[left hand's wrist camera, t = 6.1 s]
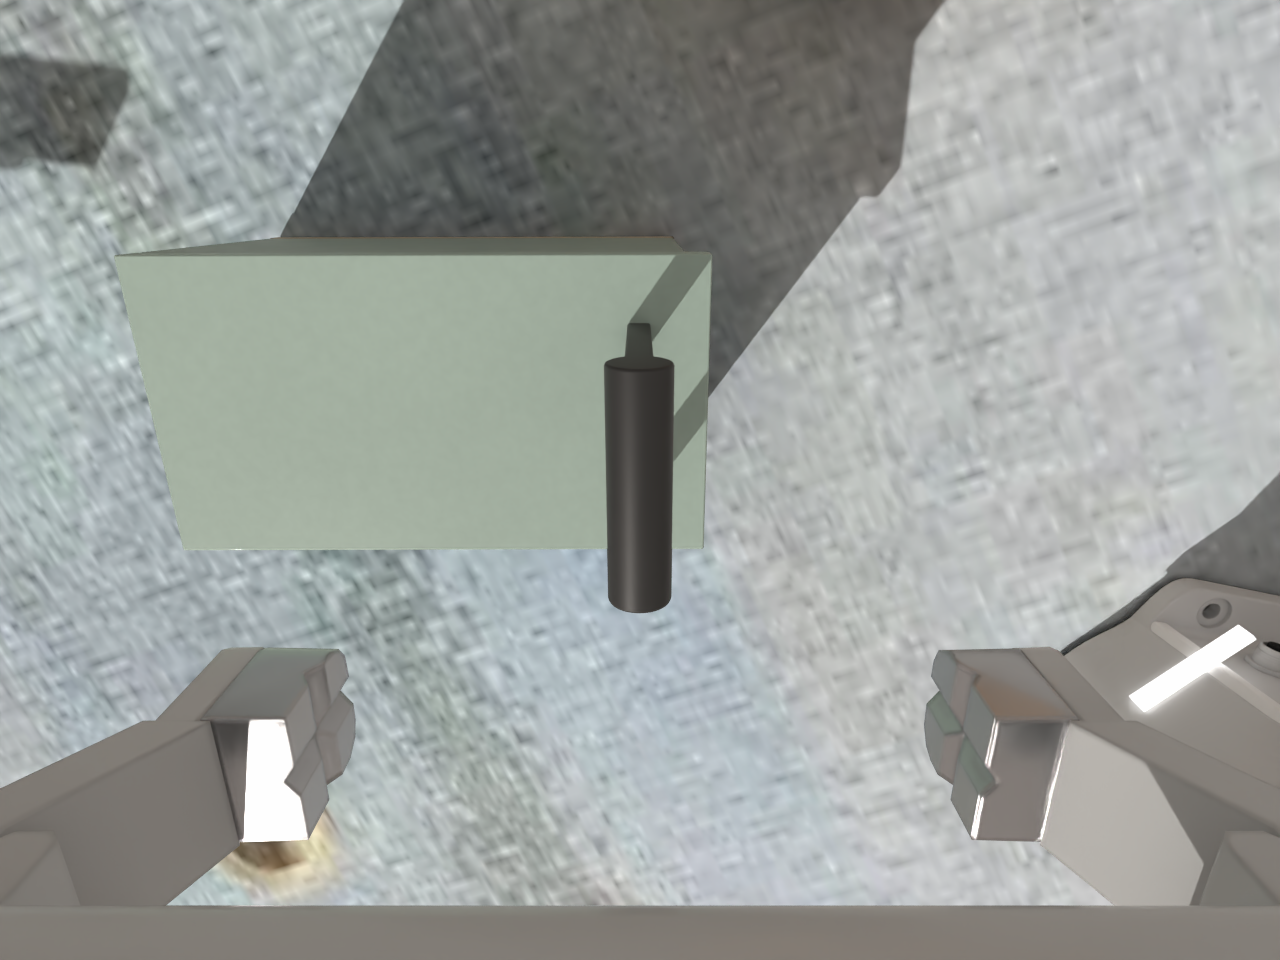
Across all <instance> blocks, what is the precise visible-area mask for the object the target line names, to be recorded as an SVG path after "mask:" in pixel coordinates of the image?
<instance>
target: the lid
mask: <svg viewBox="0 0 1280 960" xmlns="http://www.w3.org/2000/svg"><path fill="white" fill-rule="evenodd" d="M114 258H115V263H116V267H117V271H118V275H119V279H120V284H121V288H122V292H123V296H124V300H125V305H126V309H127V313H128V317H129V321H130V326H131V330H132V334H133V338H134V343H135V347H136V351H137V355H138V359H139V364H140V368H141V372H142V376H143V380H144V385H145V389H146V393H147V397H148V401H149V406H150V410H151V414H152V418H153V422H154V427H155V431H156V435H157V439H158V443H159V448H160V452H161V456H162V460H163V465H164V469H165V473H166V477H167V481H168V486H169V490H170V494H171V498H172V502H173V507H174V511H175V515H176V519H177V523H178V528H179V532H180V536H181V540H182V544H183V549H184V550H400V549H607V559H608V598H609V601H610V602H611V604H612V605H613V606H614V607H616V608H618V609H620V610H623V611H626V612H631V613H648V612H653V611H657V610H659V609H662V608H663V607H665V606H666V605H667V604H668V603H669V601H670V599H671V578H672V549H702V548H703V546H704V513H705V481H706V448H707V415H708V382H709V349H710V317H711V284H712V254H711V253H709V252H319V253H131V254H122V255H115V256H114Z"/></svg>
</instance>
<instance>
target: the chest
mask: <svg viewBox="0 0 1280 960" xmlns="http://www.w3.org/2000/svg"><path fill="white" fill-rule="evenodd" d="M319 252H684V251H683V249H682V248H681V247H680V246H679V245H678V244H677V243H676V242H675V240H674V237H673V236H667V237H278V238H270V239H263V240H254V241H245V242H235V243H226V244H217V245H207V246H198V247H189V248H179V249H170V250H161V251H151V252H142V253H319Z"/></svg>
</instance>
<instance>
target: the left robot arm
mask: <svg viewBox="0 0 1280 960" xmlns="http://www.w3.org/2000/svg"><path fill="white" fill-rule="evenodd" d="M1208 605H1209V606H1208ZM1206 606H1208V608H1206V609H1205V610H1204V608H1205V607H1206ZM348 677H349V674H348V669H347V664H346V659H345V655H344V654H343V653H342V652H341V651H340V650H339V649H312V648H263V647H237V648H228V649H224V650H222V651H221V652H220V653H219V654H218V655H217V656H216V657H215V658H214V659H213V660H212V661H211V662H210V663H209V664H208V665H207V666H206V667H205V669H204V670H203V671H202V672H201V673H200V674H199V675H198V676H197V677H196V678H195V679H194V680H193V681H192V682H191V683H190V684H189V686H188V687H187V688H186V689H185V690H184V691H183V692H182V693H181V694H180V695H179V696H178V697H177V698H176V699H175V700H174V701H173V703H172V704H171V705H170V706H169V707H168V708H167V709H166V710H165V711H164V712H163V713H162V714H161V715H160V716H159V717H158V718H157V720H156V721H142V722H140V723H138V724H135V725H133V726H131V727H129V728H127V729H125V730H123V731H121V732H119V733H116V734H114V735H112V736H110V737H108V738H106V739H104V740H102V741H100V742H97V743H95V744H93V745H91V746H89V747H87V748H85V749H83V750H81V751H78V752H76V753H74V754H72V755H70V756H68V757H66V758H64V759H62V760H60V761H57V762H55V763H53V764H51V765H49V766H47V767H45V768H43V769H41V770H38V771H36V772H34V773H32V774H30V775H28V776H26V777H24V778H22V779H19V780H17V781H15V782H13V783H11V784H9V785H7V786H5V787H3V788H1V789H0V960H1280V596H1278V595H1273V594H1268V593H1263V592H1258V591H1253V590H1248V589H1243V588H1238V587H1233V586H1228V585H1223V584H1218V583H1213V582H1208V581H1204V580H1199V579H1193V578H1181V579H1177V580H1175V581H1172V582H1170V583H1169V584H1167V585H1165V586H1164V587H1163V588H1161V589H1160V590H1159V591H1158V592H1157V593H1155V594H1154V595H1153V596H1152V597H1151V598H1150V599H1149V600H1148V601H1147V602H1146V603H1145V604H1143V605H1142V606H1141V607H1140V608H1139V609H1138V610H1137V611H1136V612H1135V613H1134V614H1133V615H1132V616H1131V617H1130V618H1129V619H1127V620H1126V621H1124V622H1122V623H1121V624H1119V625H1117V626H1115V627H1113V628H1111V629H1109V630H1107V631H1105V632H1103V633H1101V634H1099V635H1097V636H1095V637H1093V638H1091V639H1089V640H1088V641H1086V642H1084V643H1082V644H1081V645H1079V646H1077V647H1076V648H1074V649H1073V650H1071V651H1070V652H1069V653H1067V654H1066V655H1065V656H1063V655H1062V654H1061V652H1060V651H1058V650H1056V649H1053V648H1051V647H1031V648H1012V649H972V650H939V651H938V653H937V655H936V657H935V659H934V662H933V668H932V674H931V677H932V679H933V680H934V682H935V684H936V685H937V687H938V689H939V690H940V691H939V692H938V693H937V694H936V695H935V696H934V697H933V698H932V699H931V700H930V701H929V702H928V703H927V705H926V713H925V722H924V729H925V739H926V747H927V750H928V753H929V757H930V760H931V762H932V764H933V766H934V768H935V770H936V772H937V774H938V775H939V776H941V777H942V778H944V779H945V780H947V781H948V782H949V783H951V784H952V785H953V789H952V795H951V801H952V803H953V805H954V807H955V809H956V811H957V813H958V815H959V816H960V818H961V820H962V822H963V824H964V826H965V828H966V830H967V832H968V833H969V835H970V837H971V839H972V840H996V841H1032V842H1041V843H1040V845H1041V846H1042V847H1043V848H1045V849H1046V850H1047V851H1048V852H1050V853H1051V854H1052V855H1053V856H1054V857H1056V858H1057V859H1058V860H1059V861H1061V862H1062V863H1063V864H1064V865H1065V866H1067V867H1068V868H1069V869H1070V870H1072V871H1073V872H1074V873H1075V874H1076V875H1078V876H1079V877H1080V878H1081V879H1083V880H1084V881H1085V882H1086V883H1087V884H1089V885H1090V886H1091V887H1092V888H1094V889H1095V890H1096V891H1097V892H1099V893H1100V894H1101V895H1102V896H1103V897H1105V898H1106V899H1107V900H1108V901H1110V902H1111V903H1112V904H1113V905H1114V906H166V905H167V904H168V903H169V902H171V901H172V900H173V899H174V898H176V897H177V896H178V895H179V894H180V893H182V892H183V891H184V890H185V889H187V888H188V887H189V886H190V885H192V884H193V883H194V882H195V881H196V880H198V879H199V878H200V877H201V876H203V875H204V874H205V873H206V872H208V871H209V870H210V869H211V868H212V867H214V866H215V865H216V864H217V863H219V862H220V861H221V860H222V859H223V858H225V857H226V856H227V855H228V854H230V853H231V852H232V851H233V850H235V849H236V848H237V847H238V846H239V845H240V844H239V842H248V841H283V840H308V839H309V837H310V835H311V834H312V832H313V830H314V828H315V826H316V824H317V822H318V820H319V818H320V816H321V815H322V813H323V811H324V809H325V807H326V805H327V803H328V801H329V795H328V789H327V785H328V784H329V783H331V782H332V781H333V780H335V779H336V778H338V777H339V776H341V775H342V774H343V772H344V770H345V768H346V766H347V764H348V762H349V760H350V758H351V753H352V749H353V744H354V740H355V722H356V719H355V712H354V705H353V703H352V702H351V701H350V700H349V699H348V698H347V697H346V696H345V695H344V694H343V693H342V692H341V691H340V690H341V689H342V687H343V685H344V684H345V682H346V680H347V679H348Z"/></svg>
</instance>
